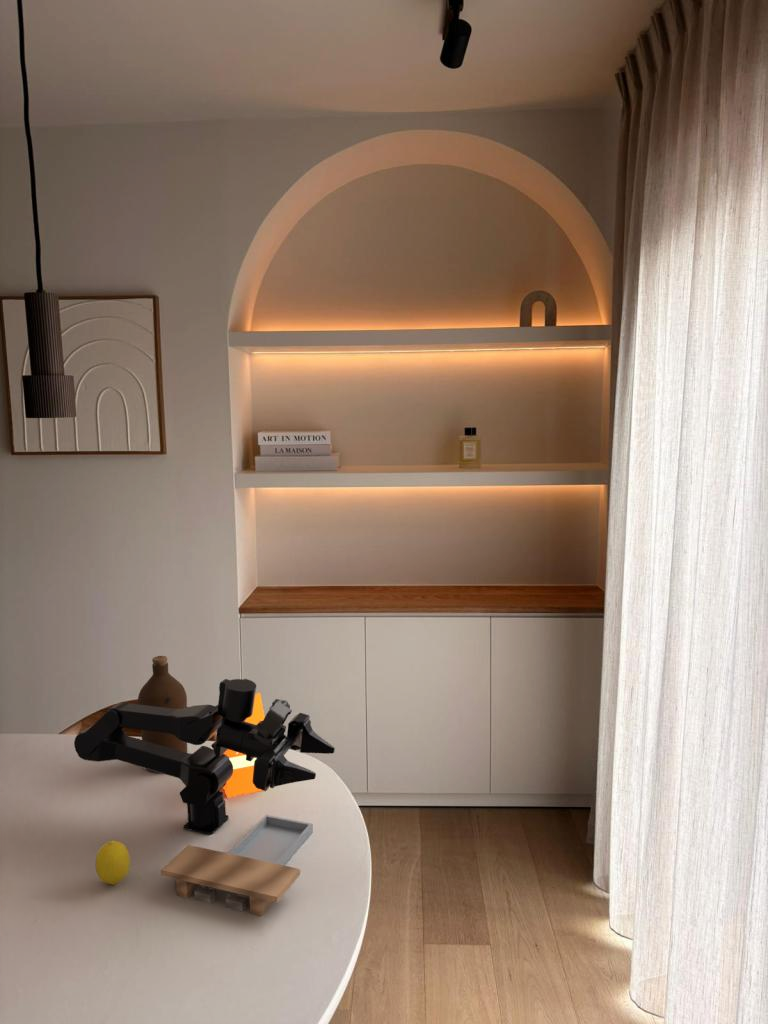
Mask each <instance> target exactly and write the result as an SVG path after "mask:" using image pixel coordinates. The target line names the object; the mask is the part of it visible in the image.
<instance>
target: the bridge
mask: <svg viewBox="0 0 768 1024" xmlns="http://www.w3.org/2000/svg"><path fill="white" fill-rule="evenodd" d="M300 875H301V869H300V868H297V867H293V866H287V865H285V866H284V865H279V864H275V863H270V862H266V861H261V860H256V859H252V858H247V857H243V856H238V855H233V854H229V853H228V852H223V851H219V850H214V849H209V848H205V847H200V846H195V845H191V844H187V845H186V846H185V847H184V848H183V849H181V850H180V851H179V852H178V853H177V854H176V855H175V856H174V857H173V858H172V859H171V860H170V861H169V862H168V863H167V864H166V865H164V866H163V867H162V868H161V869H160V876H162V877H166V878H170V879H175V883H176V884H175V885H176V896H177V897H183V898H187V899H188V898H189V896H191V895H192V894H193V893H194V900H195V901H200V902H203V903H207V904H212V902H214V901H215V900H216V890H215V889H217V890H221V891H226V892H230V893H229V895H228V896H227V897H226V898H225V908H227V909H232V910H236V911H240V912H244V910H245V909H246V908H247V906H248V898H247V897H249V911H250V914H251V915H255V916H260V917H262V916H263V914H264V913H266V911H267V910H268V908H269V907H270V906H271V905H272V904H273V903H278V902H280V900H281V899H282V898H283V897H284V896H285V894H286V892H287V891H288V890H289V889H290V888H291V887H292V885H293V883H295V881H296V880H297V879H298V878H299V877H300ZM233 893H235V894H233ZM246 896H247V897H246Z"/></svg>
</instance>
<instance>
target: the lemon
mask: <svg viewBox="0 0 768 1024" xmlns="http://www.w3.org/2000/svg"><path fill="white" fill-rule="evenodd" d="M130 865H131V857H130V854H129V851H128V849H127V847H126V845H125V844H124V843H122V842H121V841H118V840H117V841H116V840H109V841H108V842H105V844H103V845H102V846H100V848H99V850H98V852H97V855H96V858H95V870H96V871H95V872H96V875H97V877H98V878H99V880H100V881H102V882H103V883H105V884H107V885H113V886H115V885H117V884H118V883H119V882H121V881H123V880H124V879H125V877H127V875H128V873H129V870H130Z"/></svg>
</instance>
